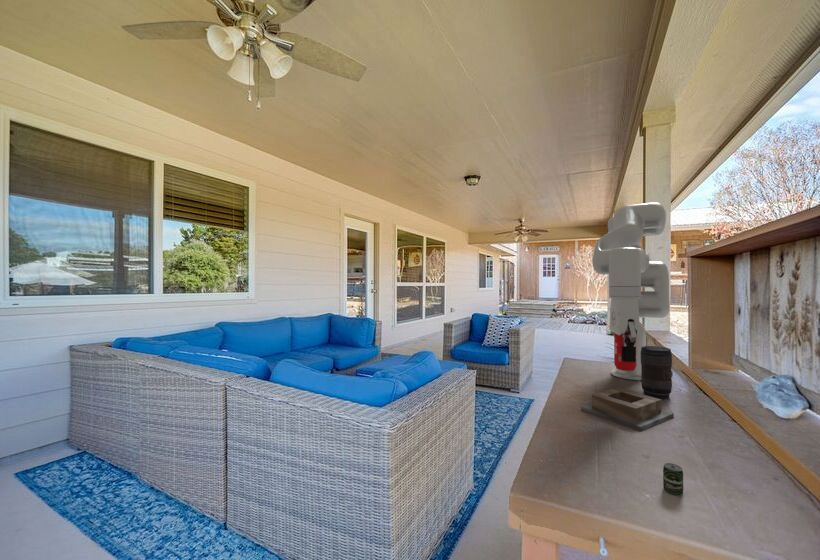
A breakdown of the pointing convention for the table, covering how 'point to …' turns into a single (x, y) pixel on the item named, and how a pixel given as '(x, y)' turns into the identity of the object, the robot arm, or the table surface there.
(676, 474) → the beer can
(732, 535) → the table surface
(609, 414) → the can holder
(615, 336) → the beverage can
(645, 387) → the camera lens
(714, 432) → the table surface
